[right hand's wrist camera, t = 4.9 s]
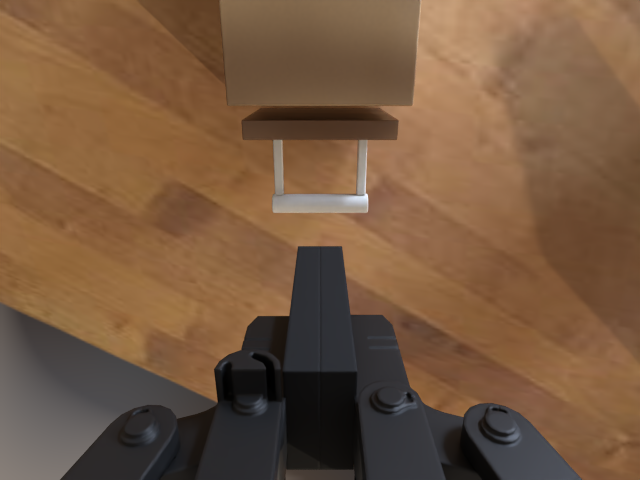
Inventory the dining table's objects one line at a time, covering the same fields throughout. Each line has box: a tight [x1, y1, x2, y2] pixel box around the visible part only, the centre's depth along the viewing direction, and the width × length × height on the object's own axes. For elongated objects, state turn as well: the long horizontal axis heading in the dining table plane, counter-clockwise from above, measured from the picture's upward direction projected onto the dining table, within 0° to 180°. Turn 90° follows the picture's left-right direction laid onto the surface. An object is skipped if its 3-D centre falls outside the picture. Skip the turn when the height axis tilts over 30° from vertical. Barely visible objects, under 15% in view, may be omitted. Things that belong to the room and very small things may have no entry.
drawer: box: [242, 108, 399, 213], centre depth 28 cm, size 23×10×9 cm, turn 0°
